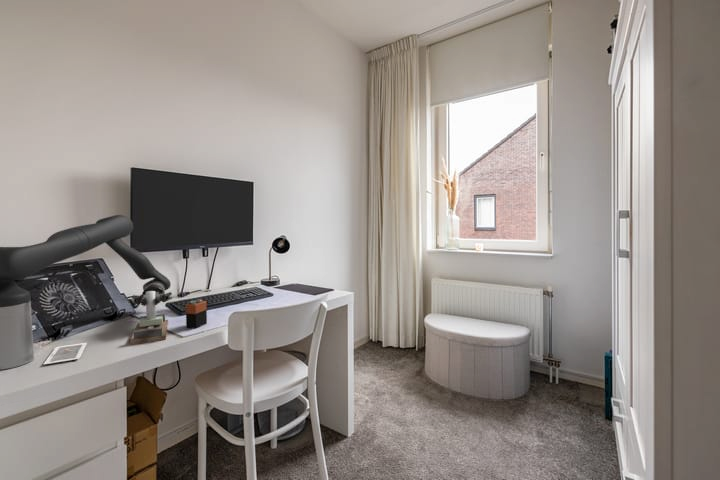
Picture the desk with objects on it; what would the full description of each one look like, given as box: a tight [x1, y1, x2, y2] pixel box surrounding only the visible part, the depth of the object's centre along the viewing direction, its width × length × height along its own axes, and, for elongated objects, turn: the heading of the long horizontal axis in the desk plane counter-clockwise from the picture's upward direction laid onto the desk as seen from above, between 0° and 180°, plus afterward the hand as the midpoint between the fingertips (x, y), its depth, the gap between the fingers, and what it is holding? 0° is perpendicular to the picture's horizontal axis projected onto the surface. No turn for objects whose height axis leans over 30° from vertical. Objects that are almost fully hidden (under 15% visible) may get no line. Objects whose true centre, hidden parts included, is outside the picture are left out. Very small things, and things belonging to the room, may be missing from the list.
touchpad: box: [43, 342, 88, 365], centre depth 103 cm, size 8×15×2 cm, turn 32°
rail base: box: [130, 313, 169, 345], centre depth 122 cm, size 10×20×4 cm, turn 28°
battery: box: [185, 298, 208, 329], centre depth 130 cm, size 4×7×10 cm, turn 168°
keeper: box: [139, 291, 163, 327], centre depth 124 cm, size 7×4×12 cm, turn 118°
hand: (150, 302), depth 122 cm, fingers closed on keeper, 3 cm apart
